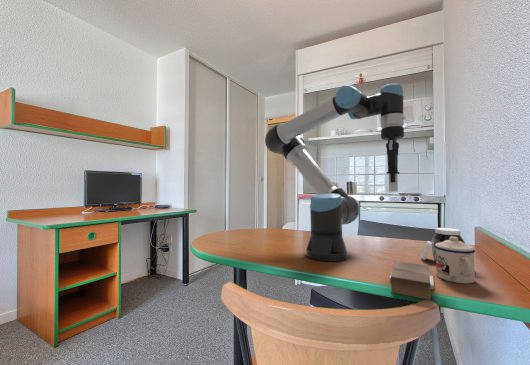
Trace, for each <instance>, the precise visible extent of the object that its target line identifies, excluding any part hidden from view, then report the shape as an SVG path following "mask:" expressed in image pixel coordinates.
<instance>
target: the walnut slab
mask: <svg viewBox="0 0 530 365" xmlns="http://www.w3.org/2000/svg"><path fill="white" fill-rule="evenodd" d="M391 273H392V274H390V275H391V282H390V289H391V293H394V294H399V295H403V296H409V297H414V298H419V299H425V300H428V299H429V300H430V301H431V299H432V298H431V289H430V276H431V274H430V266H429V265H427V264H419V263H412V262H405V261H397V260H394V261H393V266H392V269H391Z"/></svg>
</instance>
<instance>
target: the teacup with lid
mask: <svg viewBox="0 0 530 365" xmlns="http://www.w3.org/2000/svg"><path fill="white" fill-rule="evenodd" d="M449 239H450V240H446V241H443V242H440V243H436V244H435V248H436V262H435V274H436V276H437V277H438V278H439V279H441V280H444V281H446V282H452V283H455V284H465V285H466V284H468V285H469V284H473V283H474V282H475V281H476V280H475V278H476V277H475V275H476V274H475V271H476V270H475V252H476V250H475V248H474V247H473V246H471V245H468V244H466V242H465V243H463V242H461V241H458V238H457V237H450V238H449Z"/></svg>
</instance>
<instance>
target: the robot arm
mask: <svg viewBox="0 0 530 365" xmlns="http://www.w3.org/2000/svg"><path fill="white" fill-rule="evenodd" d="M404 97H405V96H404V91H403V85H402V84H400V83H389V84H386V85H383V86H382V87H381V88H380V90H379V93H377V94H375V95H371V96H367V95H365V93H363V92H361V91H360V89H358V88H357V87H355V86H353V85H349V84H346V85H343V86H341V87H339V88H338V90H337V91H336V93H335V95H334V96H333V97H331V98H329V99H327V100H325V101H323V102H322V103H320V104H318V105H316V106H314V107H312V108H310V109H308V110H306V111H305V112H303V113H302V114H300V115H297V116H295V117H293V118H291V119H290V120H288V121H287V122H284V123H282V122H280V123H278V124H276V125H274V126H272V127H271V128H270V129H269V130H268V131H267V133H265V138H264V144H265V146H266V147H267V149H268V150H269V152H271V153H274V154H279V155H282V156H283V157H284V158H285V159H284V160H286V161H287V163H292V165H294V166H295V168H296V169H297V170H298V172H299V173H300V174H301V175H302V177H303V178H304V179H305V181H306V182H307V183H308V185H309V186H310V187H311V188H312V190H313V191H314V192H315V193H316V195H313V196H312V197H311V198H310V205H309V208H310V236H309V239H308V243H307V245H306V249H305V250H306V251H305V252H306V253H305V255H306V257H307V256H308V257H307V258H308V259H309V258H310V259H312V260H315V261H321V262H341V261H345V260H347V259H348V249H347V247H346V242H345V241H344V238H343V225H349V224H350V223H352V222H354V221H356V220H357V218H358V217H359V215H360V213H361V211H360V210H361V207H360V206H361V205H360V204H359V201H358V200H357V199H356V198H355V197H353V196H351V195H348V193H346V191H345V190H344V189H343V188H342V187H339V186H338V187H337V186H336V185H335V183H334V182H333V181H332V180H331V179H330V178H329V176H327V174H326V173H325V172H324V171H323V169H322V168H321V167H320V166H319V165H318V163H317V162H316V161H315V160H314V158H313V157H312V156H311V155H310V154H309V153H308V152H307V150H308V149H307V145H306V141H305V139H304V137H303V136H302V135H303V134H306V133H308V132H310V131H311V130H314V129H316V128H319V127H320V126H322V125H324V124H326V123H329V122H330V121H333V120H335V119H337V118H339V117H341V116H344V115H345V114H347V115H348V116H349V119H351V120H361V119H365V118H369V117H370V118H371V117H375V116H379V115H380V129H381V130H380V138H381V140H383V141H387V142H386V143H385V148H386V155H387V156H386V157H387V158H386V159H387V171H386V174H388V192H389V193H391V192H394V193H395V192H397V193H398V192H399V191H398V190H399V184H398V175H399V174H400V173H401V172H400V171H399V167H398V163H399V162H398V161H399V159H398V158H399V148H400V143H399V141H398V140H400V139H403V138H404V137H405V127H404V125H405V124H404V121H405V120H406V116H404ZM397 141H398V142H397Z"/></svg>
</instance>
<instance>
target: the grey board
mask: <svg viewBox="0 0 530 365" xmlns="http://www.w3.org/2000/svg"><path fill="white" fill-rule="evenodd" d="M391 274H392V272H391ZM391 274H390V276H389V282H390V283H391ZM434 283H435V282H434V277H433V275H430V290H435V285H434Z"/></svg>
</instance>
